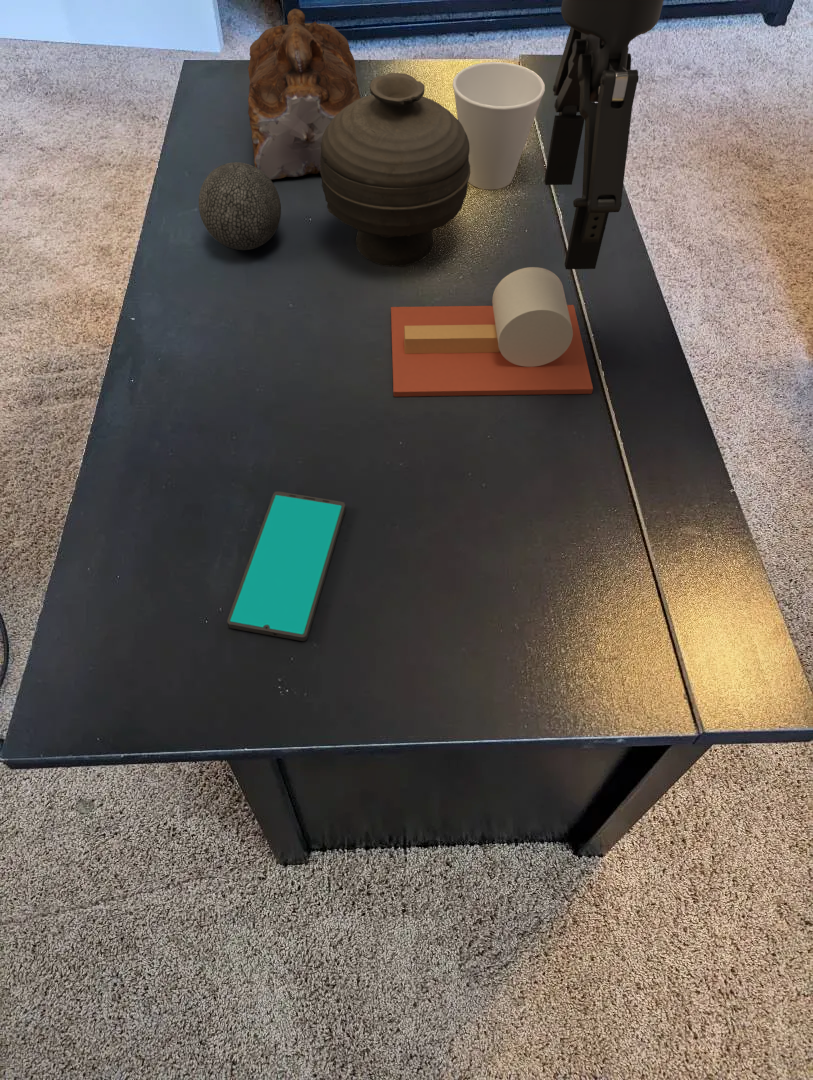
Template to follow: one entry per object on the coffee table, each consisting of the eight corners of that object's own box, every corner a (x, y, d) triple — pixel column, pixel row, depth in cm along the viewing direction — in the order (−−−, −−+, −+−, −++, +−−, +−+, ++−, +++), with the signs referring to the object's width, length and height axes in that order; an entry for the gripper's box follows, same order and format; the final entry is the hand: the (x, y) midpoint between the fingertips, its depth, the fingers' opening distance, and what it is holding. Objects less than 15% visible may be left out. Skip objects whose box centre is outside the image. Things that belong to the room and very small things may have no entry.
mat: (572, 309, 92) (573, 304, 91) (591, 394, 84) (593, 388, 84) (390, 312, 91) (390, 306, 91) (393, 397, 84) (393, 391, 83)
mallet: (405, 368, 85) (406, 311, 78) (403, 326, 89) (404, 268, 82) (565, 366, 85) (579, 309, 79) (556, 324, 89) (569, 266, 83)
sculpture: (219, 166, 102) (222, 90, 113) (336, 227, 112) (328, 152, 123) (284, 34, 90) (280, -36, 101) (409, 116, 100) (393, 44, 111)
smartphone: (345, 502, 74) (305, 637, 66) (346, 507, 75) (306, 642, 67) (273, 490, 75) (224, 623, 67) (274, 495, 76) (226, 627, 68)
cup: (429, 176, 107) (433, 84, 97) (482, 143, 112) (491, 52, 102) (495, 211, 103) (506, 118, 93) (547, 174, 108) (563, 82, 97)
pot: (494, 223, 100) (502, 65, 83) (421, 307, 93) (412, 154, 76) (383, 182, 106) (368, 26, 89) (305, 258, 99) (273, 105, 82)
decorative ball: (298, 229, 100) (289, 155, 92) (263, 274, 95) (250, 200, 87) (231, 212, 102) (216, 138, 94) (193, 255, 97) (174, 181, 89)
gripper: (715, 36, 49) (633, 306, 66) (636, -101, 63) (585, 152, 80) (599, 37, 49) (547, 308, 66) (546, -100, 63) (514, 153, 80)
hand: (568, 222), depth 73 cm, fingers open, 13 cm apart
